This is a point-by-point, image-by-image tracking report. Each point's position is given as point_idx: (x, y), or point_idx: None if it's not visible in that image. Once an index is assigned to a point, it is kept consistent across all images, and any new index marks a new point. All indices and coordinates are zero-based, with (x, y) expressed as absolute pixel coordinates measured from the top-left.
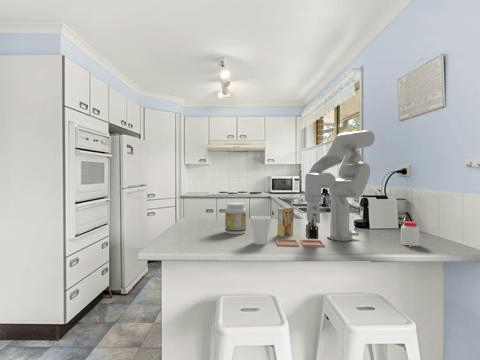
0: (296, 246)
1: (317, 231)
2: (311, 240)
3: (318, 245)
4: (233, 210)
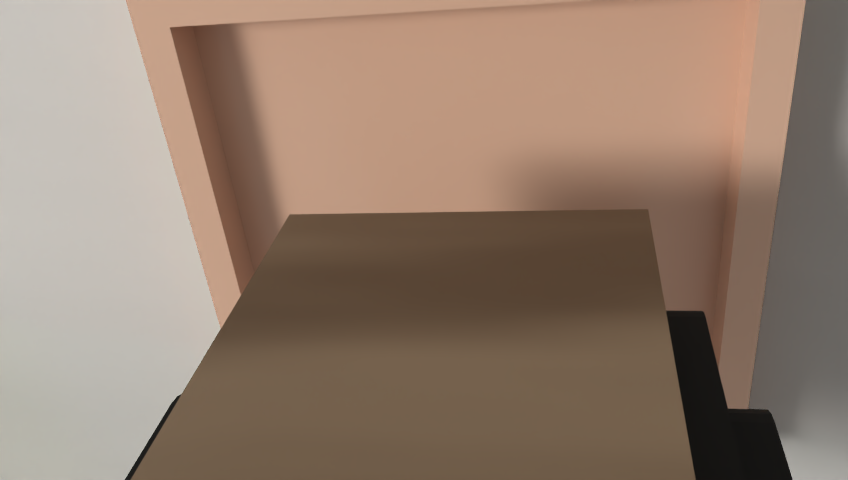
0: None
1: (673, 431)
2: (230, 242)
3: (780, 146)
4: None
